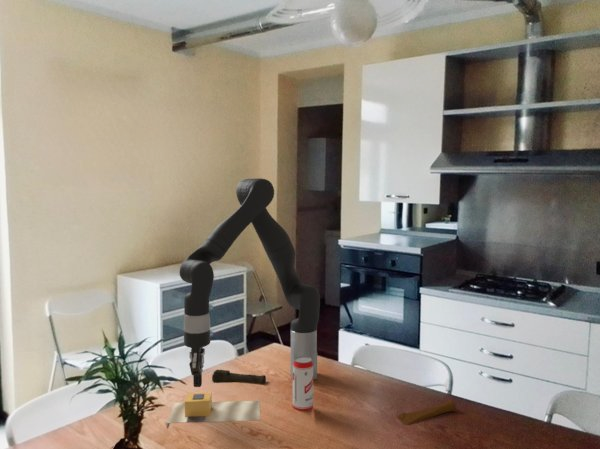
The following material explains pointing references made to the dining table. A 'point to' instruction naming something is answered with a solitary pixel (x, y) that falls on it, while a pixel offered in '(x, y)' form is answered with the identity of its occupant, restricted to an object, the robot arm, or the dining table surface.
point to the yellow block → (198, 404)
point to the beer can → (303, 383)
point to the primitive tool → (426, 413)
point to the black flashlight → (236, 377)
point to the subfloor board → (219, 412)
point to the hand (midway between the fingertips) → (197, 385)
